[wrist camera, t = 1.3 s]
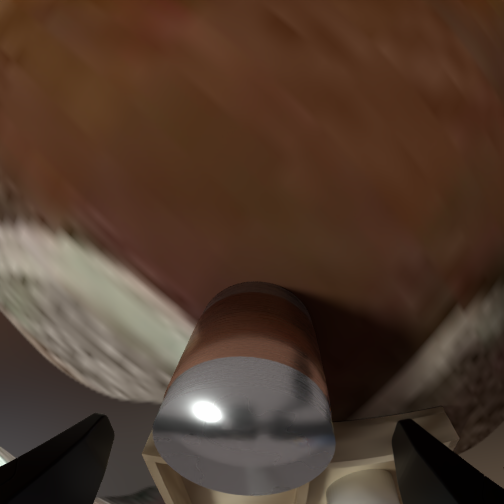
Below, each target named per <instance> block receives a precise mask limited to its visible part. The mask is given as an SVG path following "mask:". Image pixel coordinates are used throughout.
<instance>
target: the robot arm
mask: <svg viewBox="0 0 504 504" xmlns="http://www.w3.org/2000/svg"><path fill="white" fill-rule="evenodd" d="M113 440H114V431H113V428H112V426H111V423H110V421H109V419H108V417H107V416H106V415H104V414H100V413H94V414H92V415H90V416H89V417H87V418H85V419H84V420H82V421H80V422H79V423H77V424H75V425H74V426H72V427H70V428H69V429H67V430H65V431H64V432H62V433H60V434H58V435H57V436H55V437H53V438H51V439H50V440H48V441H46V442H45V443H43V444H41V445H39V446H38V447H36V448H34V449H32V450H31V451H29V452H27V453H25V454H23V455H21V456H20V457H18V458H16V459H14V460H12V461H10V462H8V463H7V464H5V465H3V466H1V467H0V504H93V503H94V500H95V497H96V495H97V492H98V490H99V487H100V484H101V482H102V479H103V476H104V473H105V470H106V467H107V463H108V459H109V455H110V451H111V448H112V444H113ZM392 449H393V456H394V462H395V469H396V476H397V483H398V487H399V491H400V495H401V499H402V502H403V504H504V489H503V488H502V487H500V486H499V485H497V484H496V483H495V482H493V481H492V480H490V479H489V478H488V477H486V476H484V474H482V473H481V472H479V471H478V470H477V469H476V468H474V467H473V466H472V465H470V464H469V463H467V462H466V461H465V460H464V459H462V458H461V457H460V456H459V455H457V454H456V453H455V452H453V451H452V450H451V449H449V448H448V447H447V446H446V445H444V444H443V443H442V442H440V441H439V440H438V439H437V438H435V437H434V436H433V435H431V434H430V433H429V432H428V431H426V430H425V429H424V428H423V427H421V426H420V425H419V424H418V423H416V422H415V421H414V420H412V419H403V420H399V421H398V422H397V424H396V427H395V430H394V433H393V436H392Z"/></svg>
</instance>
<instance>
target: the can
mask: <svg viewBox="0 0 504 504" xmlns="http://www.w3.org/2000/svg"><path fill="white" fill-rule="evenodd" d="M153 440H154V443H155V446H156V448H157V450H158V452H159V454H160V455H161V457H162V458H163V459H164V461H165V462H166V463H167V464H168V465H169V466H170V467H171V468H172V469H173V470H175V471H176V472H177V473H179V474H180V475H181V476H183V477H185V478H186V479H188V480H190V481H192V482H194V483H196V484H198V485H200V486H203V487H205V488H208V489H211V490H215V491H218V492H223V493H227V494H234V495H244V496H261V495H271V494H277V493H281V492H286V491H289V490H292V489H295V488H297V487H300V486H302V485H304V484H306V483H308V482H310V481H311V480H313V479H314V478H316V477H317V476H318V475H320V474H321V473H322V472H323V471H324V470H325V469H326V467H327V466H328V465H329V463H330V462H331V460H332V458H333V455H334V452H335V445H336V442H335V435H334V430H333V424H332V411H331V404H330V399H329V394H328V389H327V384H326V379H325V374H324V370H323V365H322V360H321V355H320V351H319V346H318V342H317V337H316V333H315V330H314V327H313V324H312V320H311V317H310V314H309V312H308V310H307V308H306V307H305V306H304V304H303V303H302V302H301V301H300V300H299V299H298V298H297V297H296V296H295V295H294V294H292V293H291V292H290V291H288V290H286V289H285V288H282V287H280V286H278V285H274V284H271V283H266V282H244V283H239V284H236V285H233V286H230V287H228V288H226V289H224V290H223V291H221V292H220V293H218V294H217V295H216V296H215V297H214V298H213V299H212V300H211V301H210V302H209V303H208V305H207V306H206V308H205V310H204V312H203V314H202V316H201V317H200V319H199V320H198V322H197V324H196V326H195V329H194V331H193V333H192V335H191V337H190V339H189V341H188V344H187V346H186V348H185V350H184V352H183V354H182V357H181V359H180V361H179V363H178V365H177V368H176V370H175V372H174V374H173V376H172V379H171V381H170V383H169V385H168V387H167V390H166V392H165V395H164V400H163V403H162V405H161V407H160V409H159V412H158V414H157V416H156V419H155V421H154V424H153Z"/></svg>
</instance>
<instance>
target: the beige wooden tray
mask: <svg viewBox="0 0 504 504" xmlns="http://www.w3.org/2000/svg"><path fill="white" fill-rule="evenodd" d="M403 419H412V420H414V421H415V422H416V423H418V424H419V425H420V426H421V427H423V428H424V429H425V430H426V431H428V432H429V433H430V434H431V435H433V436H434V437H435V438H437V439H438V440H439V441H440V442H442V443H443V444H444V445H446V446H447V447H448V448H449V449H451V450H452V451H453V450H454V448H455V447H456V445H457V443H458V441H459V439H460V438H459V437H458V435H457V433H456V431H455V429H454V427H453V426H452V424H451V422H450V420H449V418H448V417H447V415H446V413H445V411H444V410H443V408H442V406H440V407H435V408H431V409H426V410H420V411H415V412H410V413H404V414H398V415H392V416H385V417H378V418H370V419H362V420H353V421H342V422H332V424H333V430H334V435H335V442H336V445H335V452H334V455H333V458H332V460H331V462H330V463H329V465H328V466H327V467H326V469H325V470H324V471H323V472H322V473H321V474H320V475H318V476H317V477H316V478H314V479H313V480H311V481H310V482H308V483H306V484H304V485H302V486H300V487H297V488H295V489H292V490H289V491H286V492H281V493H277V494H271V495H261V496H244V495H234V494H227V493H223V492H218V491H215V490H211V489H208V488H205V487H203V486H200V485H198V484H196V483H194V482H192V481H190V480H188V479H186V478H185V477H183V476H181V475H180V474H179V473H177V472H176V471H175V470H173V469H172V468H171V467H170V466H169V465H168V464H167V463H166V462H165V461H164V459H163V458H162V457H161V455H160V454H159V452H158V450H157V448H156V446H155V443H154V440H153V429H152V431H151V434H150V436H149V438H148V441H147V443H146V446H145V448H144V450H143V452H142V455H143V458H144V460H145V462H146V464H147V467H148V469H149V471H150V473H151V475H152V477H153V479H154V481H155V484H156V486H157V488H158V490H159V492H160V494H161V496H162V498H163V499H164V501H165V503H166V504H327V501H326V490H327V488H328V487H329V485H330V484H332V483H333V482H334V481H336V480H337V479H339V478H341V477H343V476H345V475H348V474H350V473H353V472H357V471H361V470H367V469H383V470H386V471H388V472H390V473H391V474H392V477H393V480H394V484H395V487H396V491H397V494H398V498H399V501H400V504H403V502H402V499H401V495H400V491H399V487H398V483H397V476H396V469H395V462H394V456H393V449H392V436H393V433H394V430H395V427H396V424H397V422H398V421H399V420H403Z"/></svg>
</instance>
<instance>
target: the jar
mask: <svg viewBox="0 0 504 504" xmlns="http://www.w3.org/2000/svg"><path fill="white" fill-rule="evenodd" d="M326 501H327V504H400V501H399V498H398V494H397V491H396V487H395V484H394V480H393V477H392V474H391V473H390V472H388V471H386V470H383V469H367V470H361V471H357V472H353V473H350V474H348V475H345V476H343V477H341V478H339V479H337V480H336V481H334V482H333V483H332V484H330V485H329V487H328V488H327V490H326Z"/></svg>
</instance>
